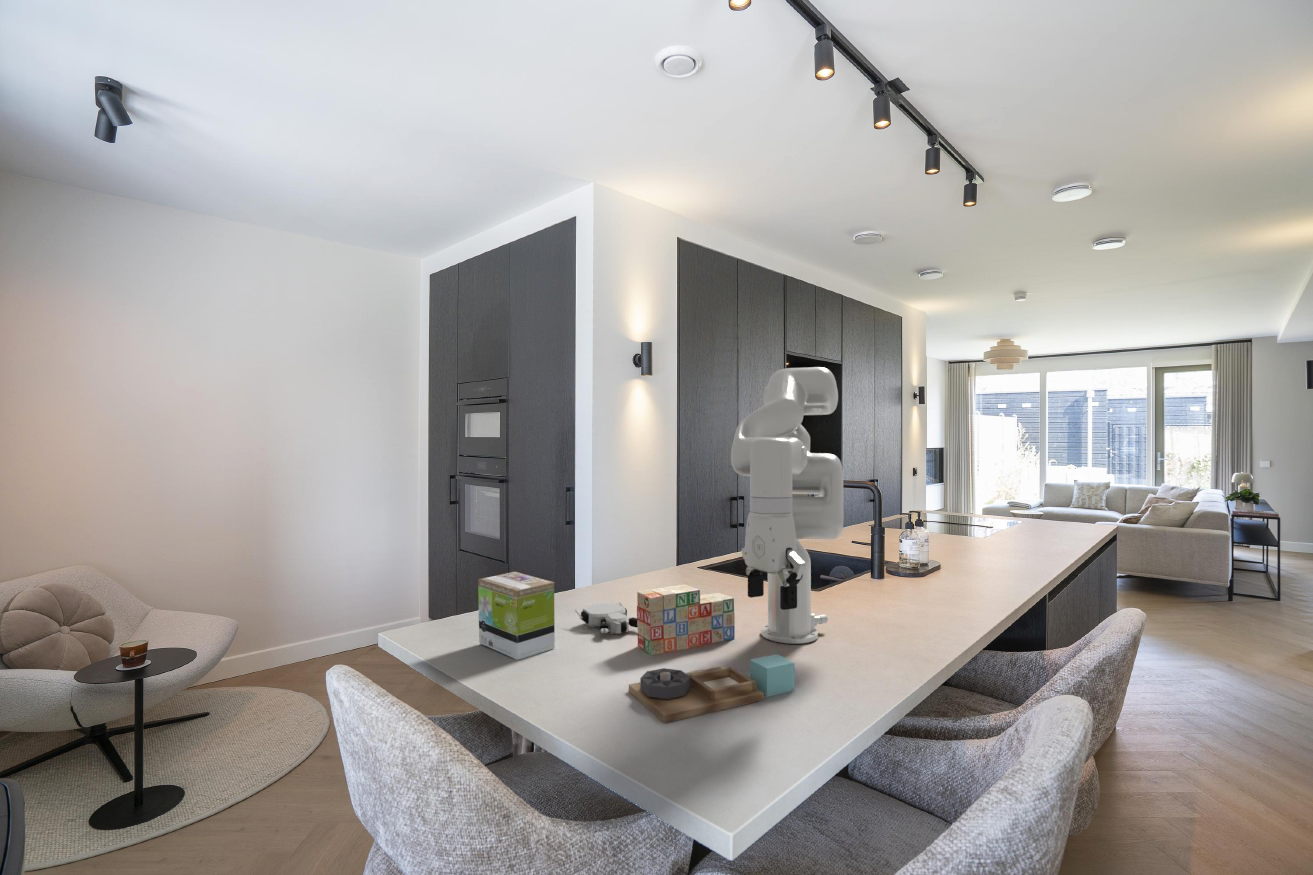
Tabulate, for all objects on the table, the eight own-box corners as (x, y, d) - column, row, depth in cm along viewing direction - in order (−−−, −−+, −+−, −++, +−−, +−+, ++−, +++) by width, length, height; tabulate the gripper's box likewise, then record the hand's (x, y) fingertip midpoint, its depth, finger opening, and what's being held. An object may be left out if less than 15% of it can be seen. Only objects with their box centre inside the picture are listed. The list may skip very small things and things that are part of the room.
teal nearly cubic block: (777, 680, 117) (777, 654, 117) (794, 690, 113) (794, 662, 113) (750, 686, 115) (750, 659, 115) (767, 697, 110) (766, 668, 110)
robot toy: (648, 636, 147) (618, 616, 160) (648, 617, 147) (618, 598, 159) (600, 645, 140) (573, 623, 153) (601, 625, 140) (573, 605, 153)
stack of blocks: (719, 632, 147) (719, 579, 147) (735, 639, 141) (734, 584, 141) (636, 647, 137) (636, 590, 137) (650, 656, 131) (650, 596, 131)
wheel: (674, 676, 115) (674, 665, 115) (697, 692, 108) (696, 681, 108) (634, 684, 112) (634, 673, 112) (654, 701, 104) (654, 689, 104)
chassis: (719, 672, 121) (719, 650, 121) (763, 699, 109) (763, 675, 109) (628, 691, 113) (628, 667, 113) (664, 722, 100) (664, 696, 100)
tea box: (476, 645, 138) (476, 577, 138) (515, 634, 146) (515, 570, 146) (517, 661, 128) (516, 588, 128) (556, 649, 136) (556, 580, 136)
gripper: (727, 503, 120) (727, 594, 120) (784, 512, 104) (784, 616, 104) (760, 501, 123) (760, 590, 123) (820, 510, 107) (820, 611, 107)
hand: (771, 602), depth 113 cm, fingers open, 9 cm apart
